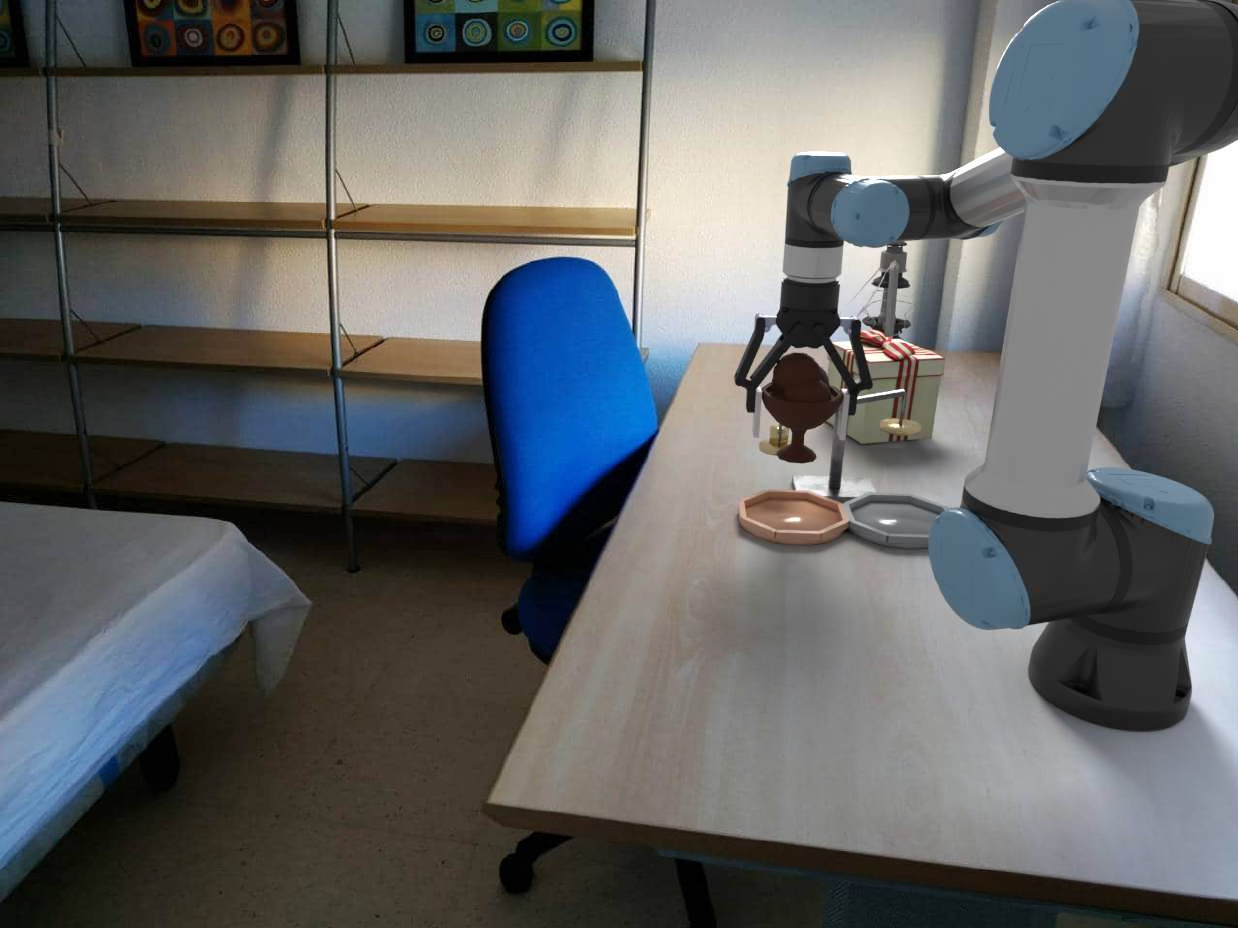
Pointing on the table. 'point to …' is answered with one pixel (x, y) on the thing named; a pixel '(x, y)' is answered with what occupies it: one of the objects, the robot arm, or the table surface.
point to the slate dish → (893, 519)
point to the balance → (841, 454)
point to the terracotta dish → (792, 517)
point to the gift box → (890, 386)
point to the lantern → (889, 291)
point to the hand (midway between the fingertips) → (798, 435)
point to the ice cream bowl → (800, 402)
